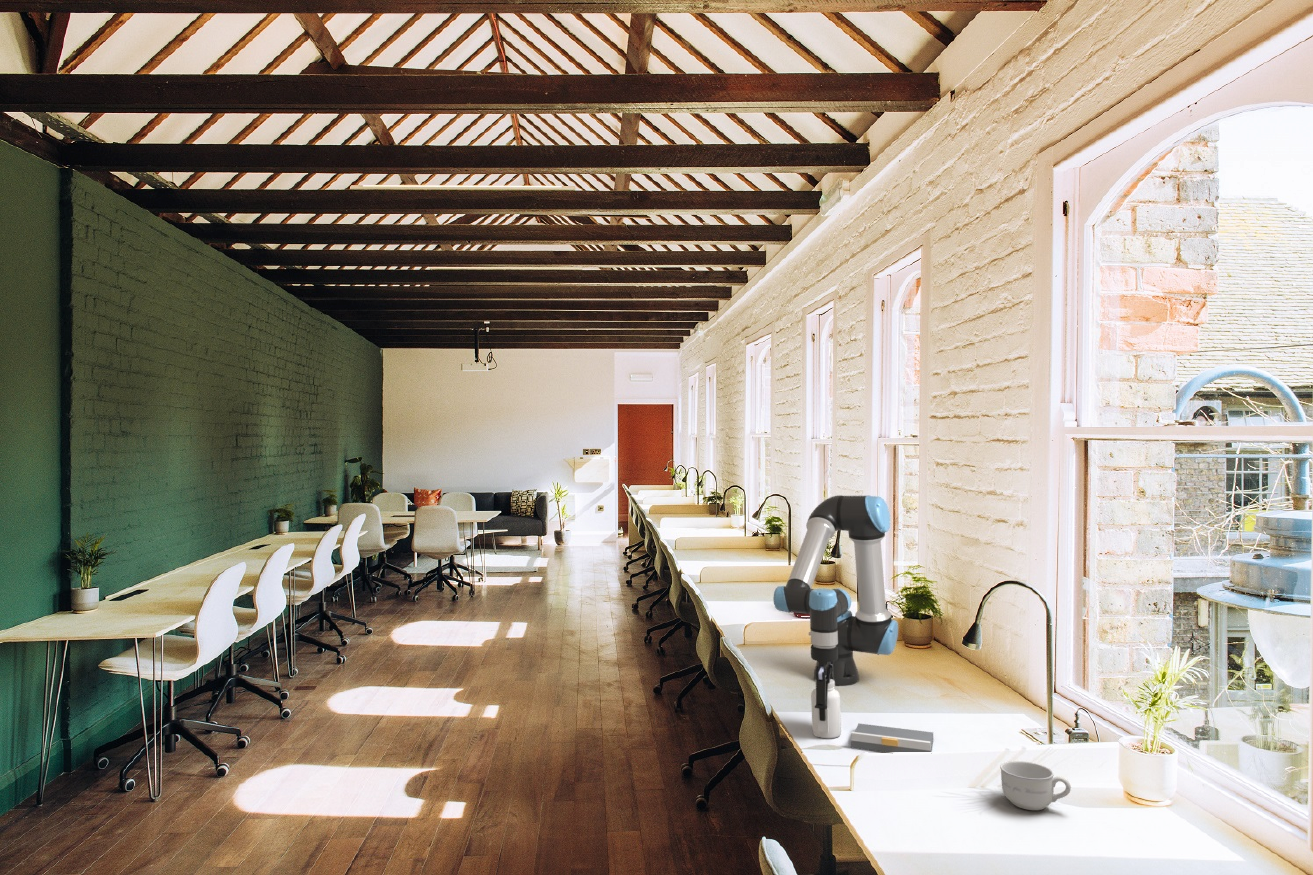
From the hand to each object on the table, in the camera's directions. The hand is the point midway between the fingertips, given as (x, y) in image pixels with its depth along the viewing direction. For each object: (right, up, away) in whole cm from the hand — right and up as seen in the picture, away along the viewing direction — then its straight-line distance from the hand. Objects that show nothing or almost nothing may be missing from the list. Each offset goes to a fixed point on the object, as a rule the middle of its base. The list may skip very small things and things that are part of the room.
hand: (826, 725), depth 211 cm
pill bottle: (0, -2, 0) cm, 2 cm away
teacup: (+37, -1, -44) cm, 57 cm away
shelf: (+16, -2, -8) cm, 18 cm away
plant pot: (+22, -3, +142) cm, 144 cm away
